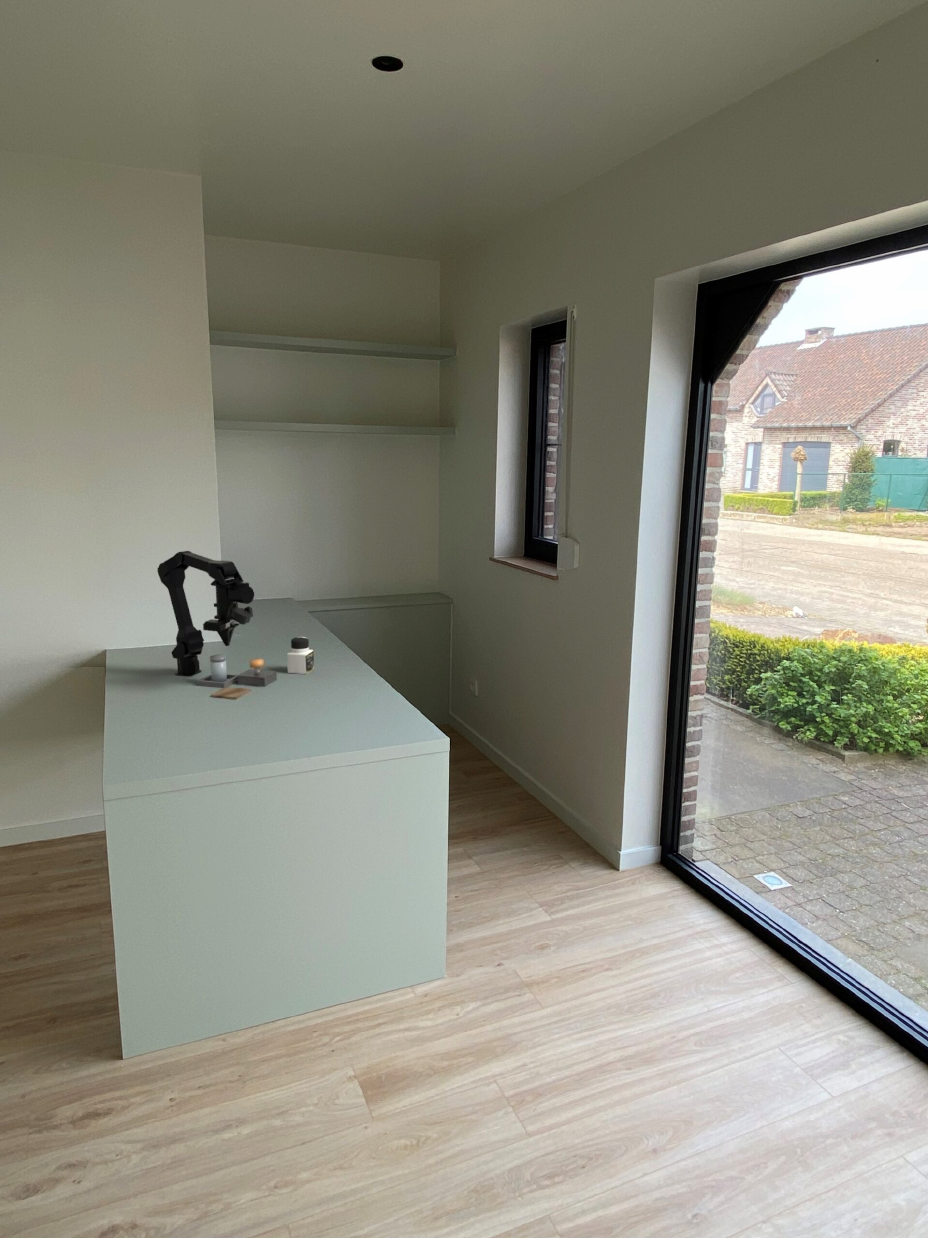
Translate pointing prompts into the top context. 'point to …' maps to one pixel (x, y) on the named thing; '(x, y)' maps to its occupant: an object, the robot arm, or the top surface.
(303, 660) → the medicine bottle
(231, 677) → the collar
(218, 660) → the cylinder
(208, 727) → the top surface
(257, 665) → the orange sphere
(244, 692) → the walnut pad
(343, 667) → the top surface
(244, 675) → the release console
